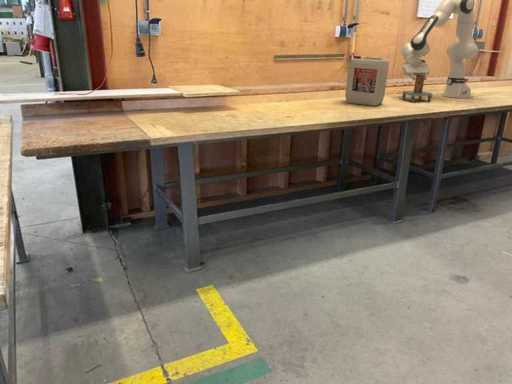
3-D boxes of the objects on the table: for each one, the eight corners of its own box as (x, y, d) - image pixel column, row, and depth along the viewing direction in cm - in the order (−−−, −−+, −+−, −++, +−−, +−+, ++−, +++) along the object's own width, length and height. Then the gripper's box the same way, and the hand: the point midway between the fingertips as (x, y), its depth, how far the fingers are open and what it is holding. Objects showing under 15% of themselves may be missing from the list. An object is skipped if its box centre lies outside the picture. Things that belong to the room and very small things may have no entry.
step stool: (420, 99, 304) (421, 90, 302) (431, 102, 294) (432, 93, 291) (401, 99, 299) (402, 91, 297) (412, 102, 289) (413, 93, 287)
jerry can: (342, 103, 279) (347, 56, 267) (350, 99, 294) (355, 54, 283) (378, 107, 269) (385, 58, 257) (384, 103, 284) (391, 57, 273)
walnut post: (418, 91, 297) (421, 74, 292) (421, 92, 293) (425, 75, 289) (413, 91, 295) (416, 74, 291) (417, 92, 292) (420, 75, 287)
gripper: (403, 60, 290) (410, 76, 285) (427, 60, 296) (434, 76, 291) (398, 66, 296) (404, 82, 291) (422, 66, 302) (429, 82, 297)
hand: (419, 79), depth 291 cm, fingers open, 8 cm apart
